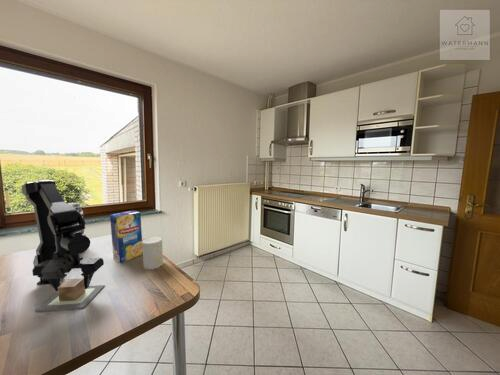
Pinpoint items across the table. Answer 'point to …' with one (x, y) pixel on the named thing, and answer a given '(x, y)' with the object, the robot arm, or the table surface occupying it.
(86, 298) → the rest pad
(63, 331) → the table surface
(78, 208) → the decorative candle
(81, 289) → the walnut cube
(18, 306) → the table surface
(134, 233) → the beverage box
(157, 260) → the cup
